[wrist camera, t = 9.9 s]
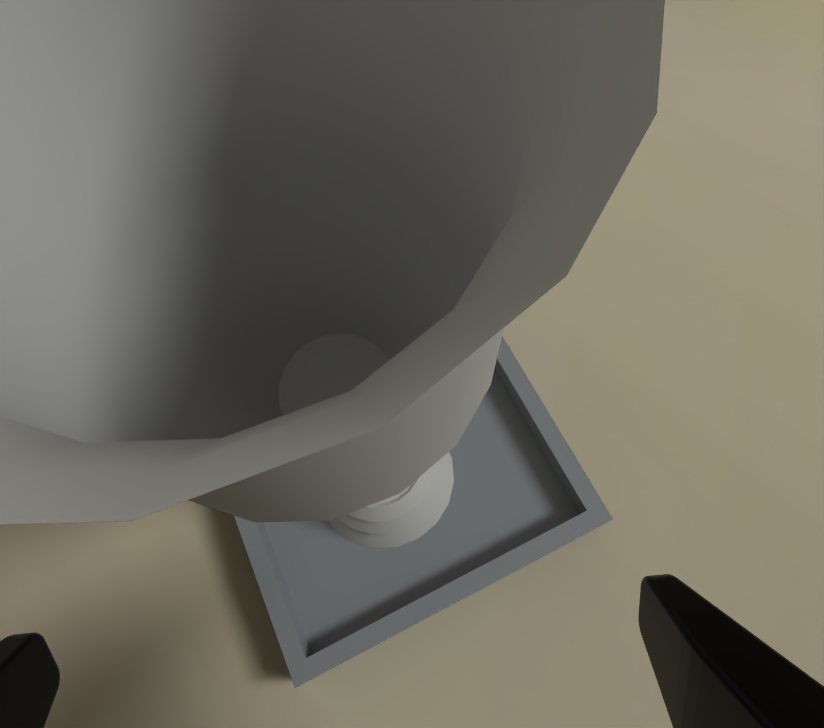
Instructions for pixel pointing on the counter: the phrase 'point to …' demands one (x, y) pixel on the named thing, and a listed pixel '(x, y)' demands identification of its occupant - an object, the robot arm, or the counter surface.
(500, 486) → the tray
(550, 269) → the chalice
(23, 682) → the robot arm
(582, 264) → the counter surface
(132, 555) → the counter surface
